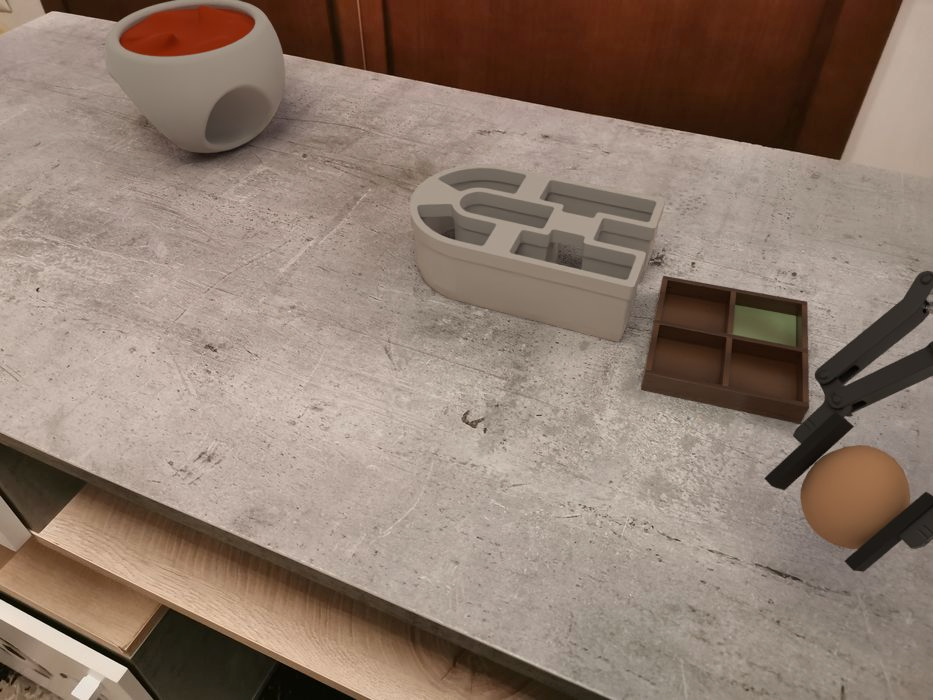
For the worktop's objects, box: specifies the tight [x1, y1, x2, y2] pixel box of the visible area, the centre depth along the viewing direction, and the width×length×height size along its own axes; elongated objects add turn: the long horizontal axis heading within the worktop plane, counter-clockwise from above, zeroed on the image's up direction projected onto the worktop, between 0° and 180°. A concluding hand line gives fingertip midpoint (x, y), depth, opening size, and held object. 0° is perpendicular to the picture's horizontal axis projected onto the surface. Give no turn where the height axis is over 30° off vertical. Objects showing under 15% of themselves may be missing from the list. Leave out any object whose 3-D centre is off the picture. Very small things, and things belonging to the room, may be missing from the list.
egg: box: [799, 444, 911, 550], centre depth 50 cm, size 6×6×8 cm
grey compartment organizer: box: [409, 163, 666, 343], centre depth 86 cm, size 17×28×9 cm, turn 68°
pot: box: [104, 0, 286, 154], centre depth 106 cm, size 24×24×18 cm
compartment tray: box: [640, 275, 810, 425], centre depth 78 cm, size 16×16×3 cm
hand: (812, 523), depth 49 cm, fingers closed on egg, 6 cm apart
